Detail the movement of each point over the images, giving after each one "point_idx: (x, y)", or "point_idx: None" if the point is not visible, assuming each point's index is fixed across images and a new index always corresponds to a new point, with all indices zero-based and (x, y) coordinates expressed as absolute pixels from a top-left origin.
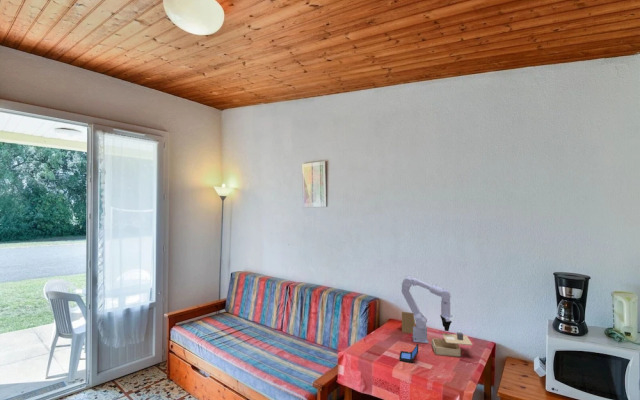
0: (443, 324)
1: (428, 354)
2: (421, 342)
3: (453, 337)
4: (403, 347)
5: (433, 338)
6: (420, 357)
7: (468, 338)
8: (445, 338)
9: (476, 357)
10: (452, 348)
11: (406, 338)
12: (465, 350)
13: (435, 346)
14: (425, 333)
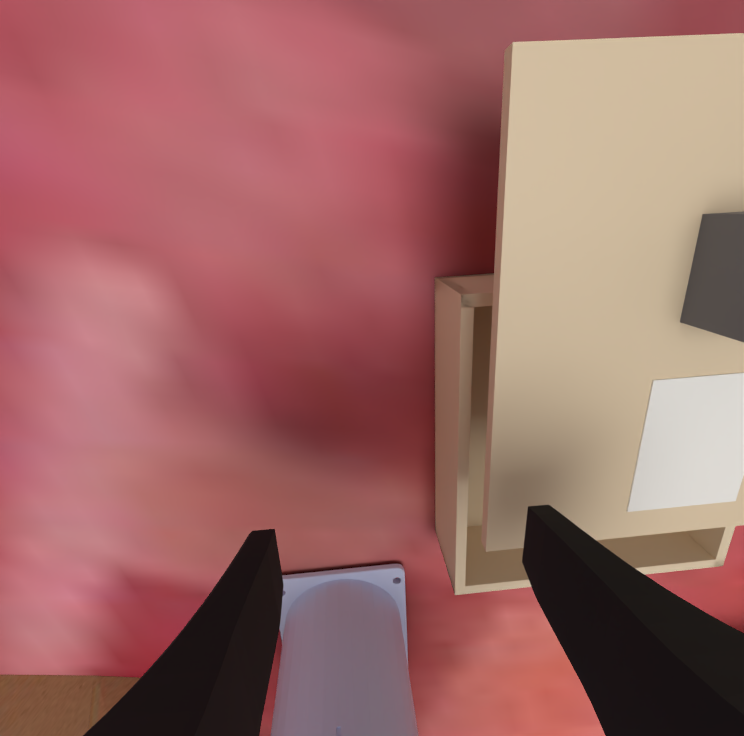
0: (274, 629)
1: None
2: (405, 615)
3: (669, 388)
4: (538, 713)
5: (459, 580)
6: (714, 606)
7: (716, 35)
8: (708, 515)
9: (725, 26)
10: None
11: None
12: None
13: (699, 562)
14: (398, 685)
